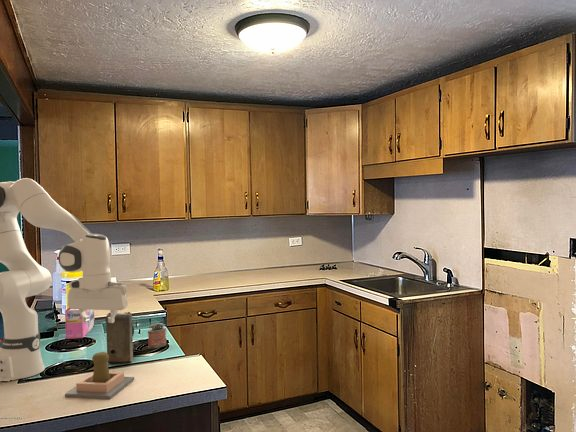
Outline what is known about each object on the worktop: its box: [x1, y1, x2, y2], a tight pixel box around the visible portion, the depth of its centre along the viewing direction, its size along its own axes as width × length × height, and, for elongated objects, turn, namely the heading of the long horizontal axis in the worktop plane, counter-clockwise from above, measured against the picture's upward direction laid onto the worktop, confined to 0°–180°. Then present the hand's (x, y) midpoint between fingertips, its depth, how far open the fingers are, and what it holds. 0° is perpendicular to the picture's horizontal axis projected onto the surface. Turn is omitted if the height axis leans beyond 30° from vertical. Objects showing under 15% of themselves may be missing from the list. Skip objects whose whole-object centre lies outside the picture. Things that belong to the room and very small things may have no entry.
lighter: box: [147, 322, 167, 350], centre depth 203 cm, size 8×3×10 cm, turn 130°
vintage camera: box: [105, 311, 141, 364], centre depth 190 cm, size 10×15×20 cm, turn 2°
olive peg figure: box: [91, 351, 110, 383], centre depth 159 cm, size 6×6×11 cm
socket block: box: [64, 371, 136, 400], centre depth 159 cm, size 16×16×4 cm
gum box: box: [64, 307, 95, 340], centre depth 230 cm, size 24×8×14 cm, turn 9°
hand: (98, 322), depth 158 cm, fingers open, 8 cm apart
